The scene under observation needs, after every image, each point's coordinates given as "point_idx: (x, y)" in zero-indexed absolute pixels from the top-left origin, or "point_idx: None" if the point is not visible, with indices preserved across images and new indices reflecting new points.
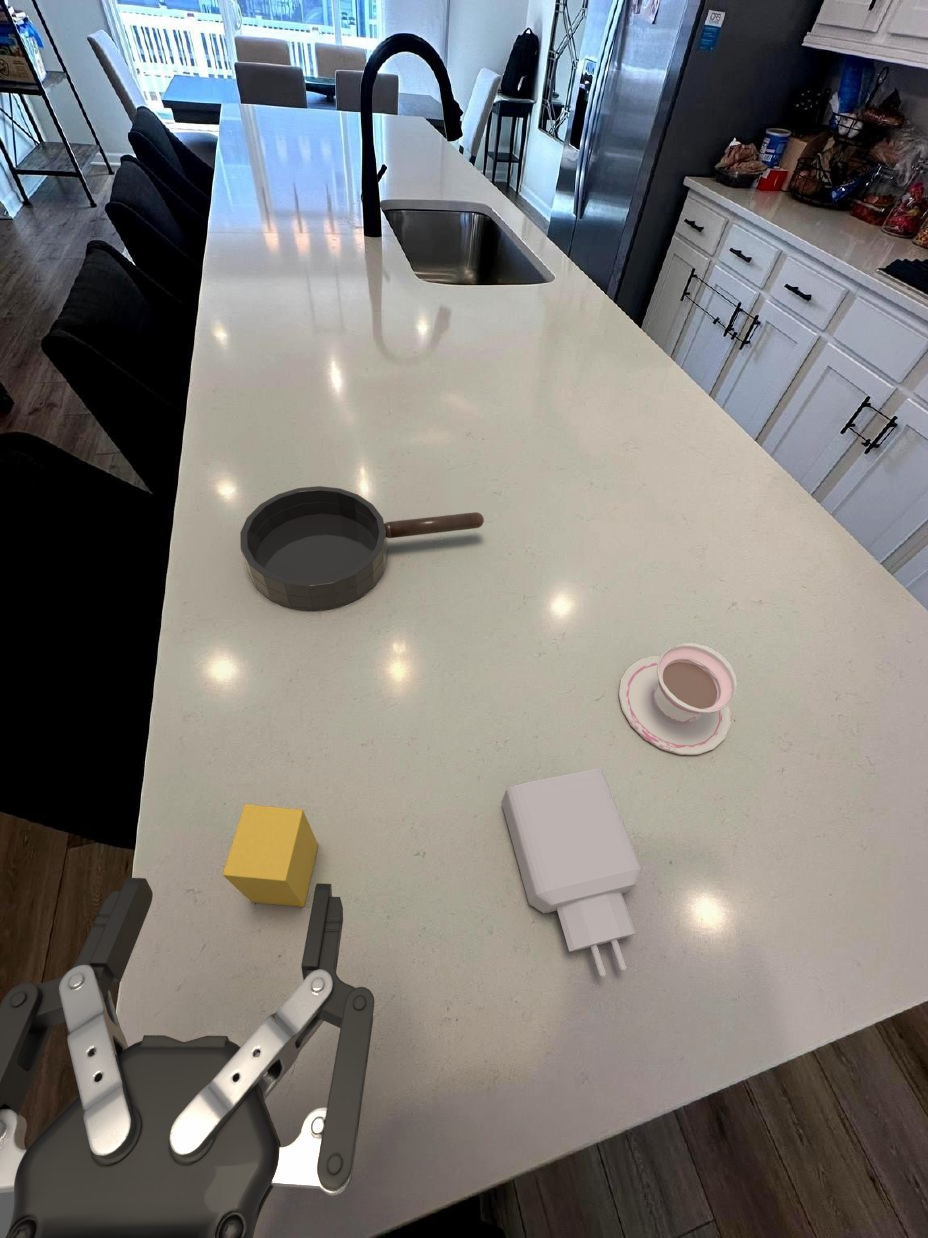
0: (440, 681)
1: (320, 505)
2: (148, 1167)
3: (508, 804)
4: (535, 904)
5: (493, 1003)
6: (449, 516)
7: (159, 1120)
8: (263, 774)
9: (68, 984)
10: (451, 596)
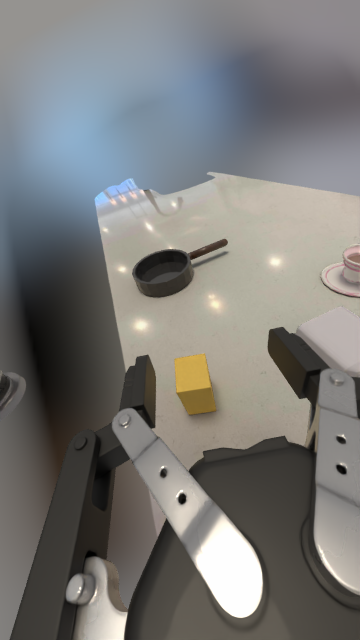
0: (236, 302)
1: (159, 260)
2: (308, 622)
3: (301, 334)
4: None
5: None
6: (213, 243)
7: (276, 541)
8: (173, 359)
9: (119, 422)
10: (225, 273)
